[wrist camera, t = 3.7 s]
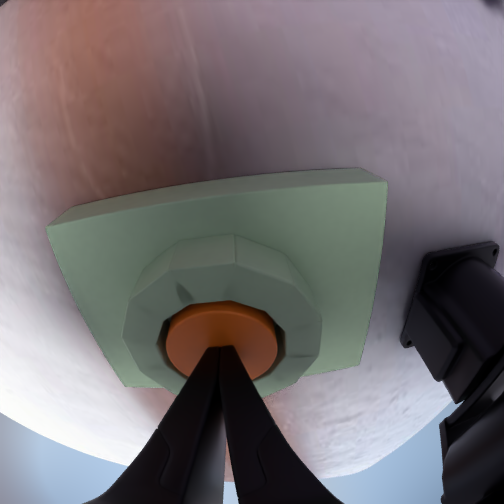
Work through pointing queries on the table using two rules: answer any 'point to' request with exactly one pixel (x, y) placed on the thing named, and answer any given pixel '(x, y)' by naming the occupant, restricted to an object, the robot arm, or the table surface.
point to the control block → (229, 267)
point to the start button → (222, 335)
